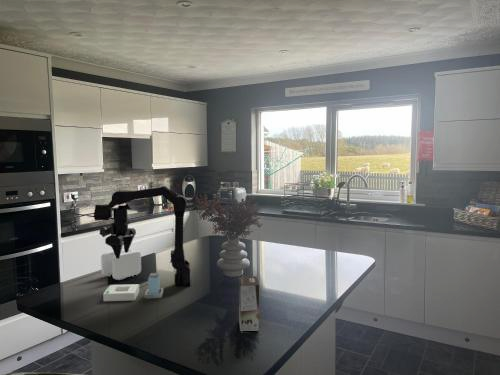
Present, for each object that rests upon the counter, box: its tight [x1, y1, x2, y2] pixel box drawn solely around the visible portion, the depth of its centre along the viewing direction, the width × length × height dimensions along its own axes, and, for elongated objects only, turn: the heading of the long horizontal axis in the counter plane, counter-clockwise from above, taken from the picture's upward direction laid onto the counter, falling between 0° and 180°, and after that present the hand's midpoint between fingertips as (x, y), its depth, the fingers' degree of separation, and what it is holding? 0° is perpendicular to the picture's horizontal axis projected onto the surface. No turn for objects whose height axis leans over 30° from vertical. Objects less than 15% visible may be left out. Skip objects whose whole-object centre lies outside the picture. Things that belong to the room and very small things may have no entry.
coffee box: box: [238, 275, 260, 333], centre depth 131 cm, size 9×6×16 cm
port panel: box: [102, 283, 140, 302], centre depth 157 cm, size 12×10×3 cm
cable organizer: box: [100, 248, 142, 281], centre depth 182 cm, size 15×11×12 cm
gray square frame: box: [144, 287, 165, 299], centre depth 159 cm, size 7×7×2 cm
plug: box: [147, 272, 161, 294], centre depth 158 cm, size 4×4×9 cm
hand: (122, 255), depth 166 cm, fingers open, 9 cm apart
